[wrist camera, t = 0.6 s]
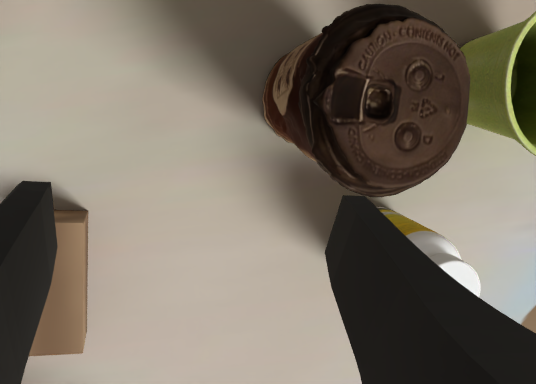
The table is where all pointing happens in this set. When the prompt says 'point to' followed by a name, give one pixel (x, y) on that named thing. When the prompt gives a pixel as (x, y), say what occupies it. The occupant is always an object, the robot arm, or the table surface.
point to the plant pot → (504, 82)
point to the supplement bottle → (436, 250)
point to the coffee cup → (373, 99)
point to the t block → (66, 290)
